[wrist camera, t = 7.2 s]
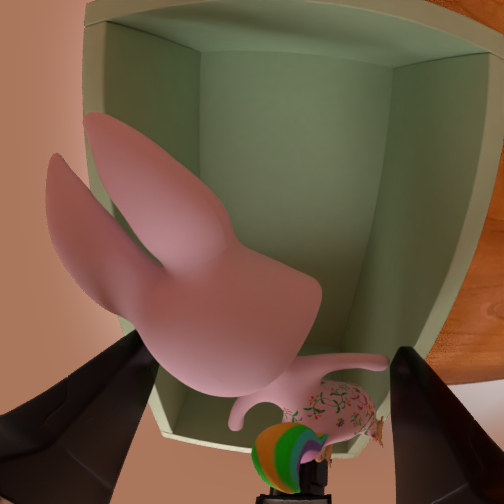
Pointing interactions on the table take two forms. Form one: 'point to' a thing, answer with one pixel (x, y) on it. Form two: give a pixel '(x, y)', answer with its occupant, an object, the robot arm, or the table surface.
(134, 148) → the rabbit figure
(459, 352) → the table surface
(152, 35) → the bin
